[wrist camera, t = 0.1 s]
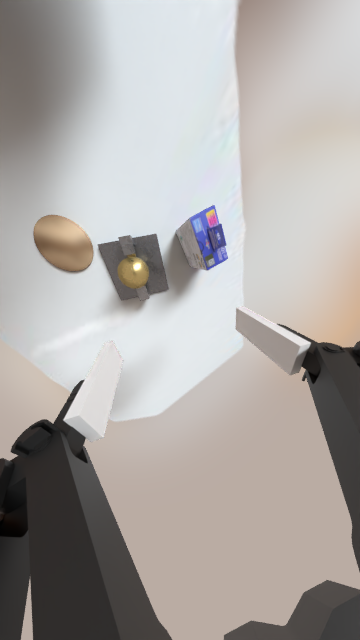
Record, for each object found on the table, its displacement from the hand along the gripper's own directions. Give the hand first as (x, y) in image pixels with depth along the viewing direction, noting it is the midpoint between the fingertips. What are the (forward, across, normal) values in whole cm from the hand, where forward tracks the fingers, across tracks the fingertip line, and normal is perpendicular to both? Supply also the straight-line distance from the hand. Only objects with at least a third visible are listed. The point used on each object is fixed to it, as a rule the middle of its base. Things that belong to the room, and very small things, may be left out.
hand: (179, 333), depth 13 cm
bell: (+25, -5, +5) cm, 26 cm away
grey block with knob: (+28, -5, +5) cm, 29 cm away
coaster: (+28, -19, +13) cm, 36 cm away
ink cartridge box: (+28, +11, +8) cm, 31 cm away
